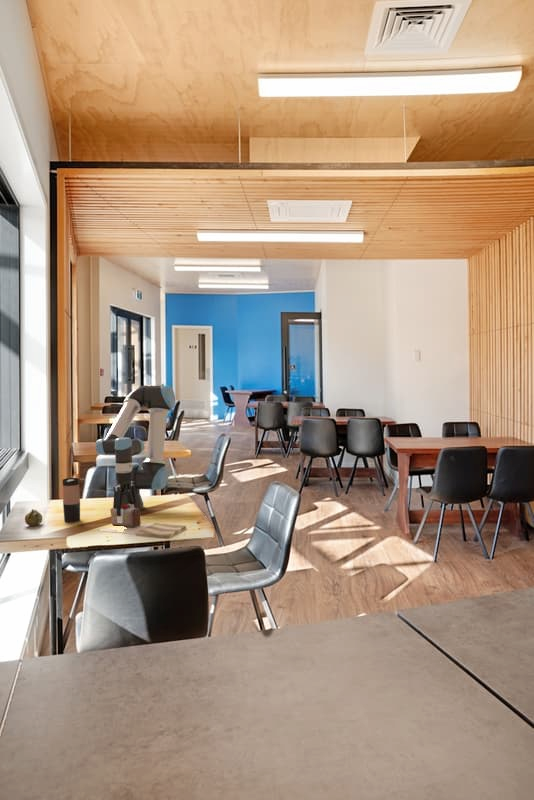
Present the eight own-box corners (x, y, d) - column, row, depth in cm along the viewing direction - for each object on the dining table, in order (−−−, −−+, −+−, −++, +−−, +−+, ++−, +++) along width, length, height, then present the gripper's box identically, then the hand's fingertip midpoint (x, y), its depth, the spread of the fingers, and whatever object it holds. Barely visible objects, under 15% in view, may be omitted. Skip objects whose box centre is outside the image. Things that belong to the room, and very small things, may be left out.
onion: (46, 523, 279) (46, 507, 278) (33, 528, 272) (33, 511, 271) (34, 522, 282) (34, 505, 281) (21, 526, 275) (20, 509, 274)
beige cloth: (155, 525, 272) (154, 523, 272) (186, 528, 267) (185, 525, 267) (135, 535, 258) (135, 532, 257) (168, 538, 252) (168, 535, 252)
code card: (119, 521, 280) (119, 521, 280) (152, 524, 274) (152, 524, 274) (98, 530, 265) (98, 530, 265) (133, 534, 259) (133, 533, 259)
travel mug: (76, 517, 289) (74, 477, 288) (83, 520, 284) (82, 479, 282) (61, 520, 284) (59, 479, 283) (68, 523, 278) (66, 481, 277)
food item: (108, 526, 272) (107, 504, 272) (119, 521, 280) (118, 501, 279) (132, 529, 267) (132, 507, 266) (143, 524, 274) (142, 503, 274)
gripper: (117, 476, 261) (119, 527, 262) (143, 468, 280) (145, 515, 282) (103, 475, 263) (105, 525, 265) (130, 467, 283) (131, 514, 284)
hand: (125, 520), depth 273 cm, fingers closed on food item, 8 cm apart
